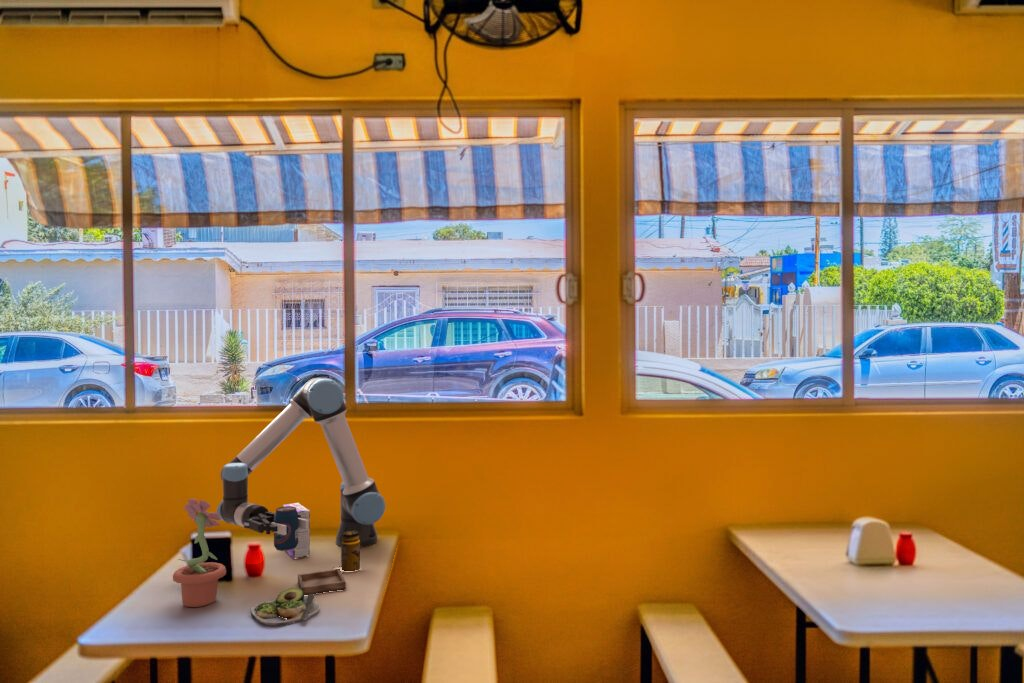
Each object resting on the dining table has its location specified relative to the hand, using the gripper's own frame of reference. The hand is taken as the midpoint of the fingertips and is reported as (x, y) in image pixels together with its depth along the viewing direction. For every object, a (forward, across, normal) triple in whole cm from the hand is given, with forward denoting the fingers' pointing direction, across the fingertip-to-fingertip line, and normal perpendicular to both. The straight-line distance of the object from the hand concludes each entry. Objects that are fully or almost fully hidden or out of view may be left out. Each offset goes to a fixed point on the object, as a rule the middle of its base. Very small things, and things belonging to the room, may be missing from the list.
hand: (296, 527), depth 196 cm
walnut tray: (+2, -7, -19) cm, 20 cm away
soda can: (-5, 0, -7) cm, 9 cm away
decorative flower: (-15, +21, -19) cm, 32 cm away
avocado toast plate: (+11, +11, -20) cm, 25 cm away
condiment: (-3, -22, -19) cm, 29 cm away
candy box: (-32, -23, -19) cm, 44 cm away
